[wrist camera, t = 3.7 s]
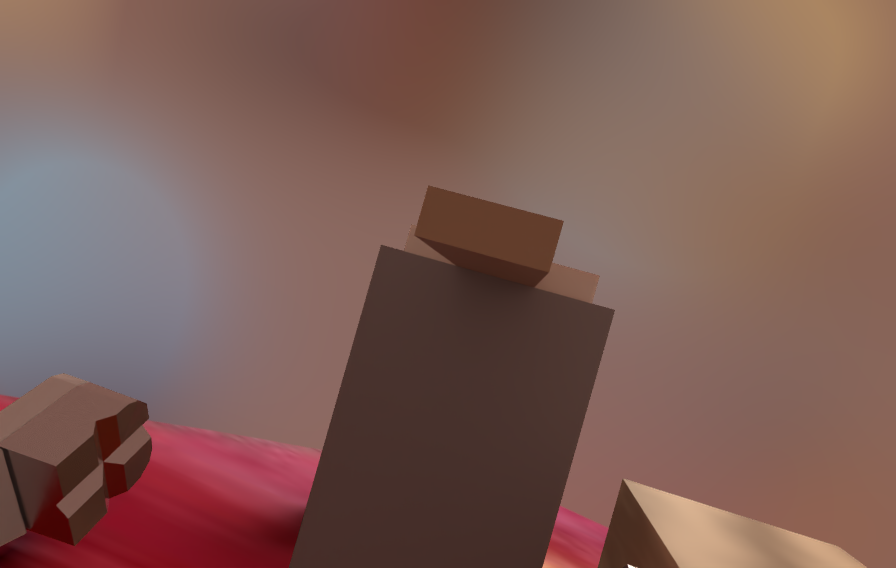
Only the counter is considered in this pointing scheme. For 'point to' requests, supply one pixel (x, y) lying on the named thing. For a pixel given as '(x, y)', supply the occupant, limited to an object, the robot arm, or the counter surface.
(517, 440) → the carton
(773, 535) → the box
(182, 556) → the counter surface
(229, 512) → the counter surface
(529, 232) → the lid flap
